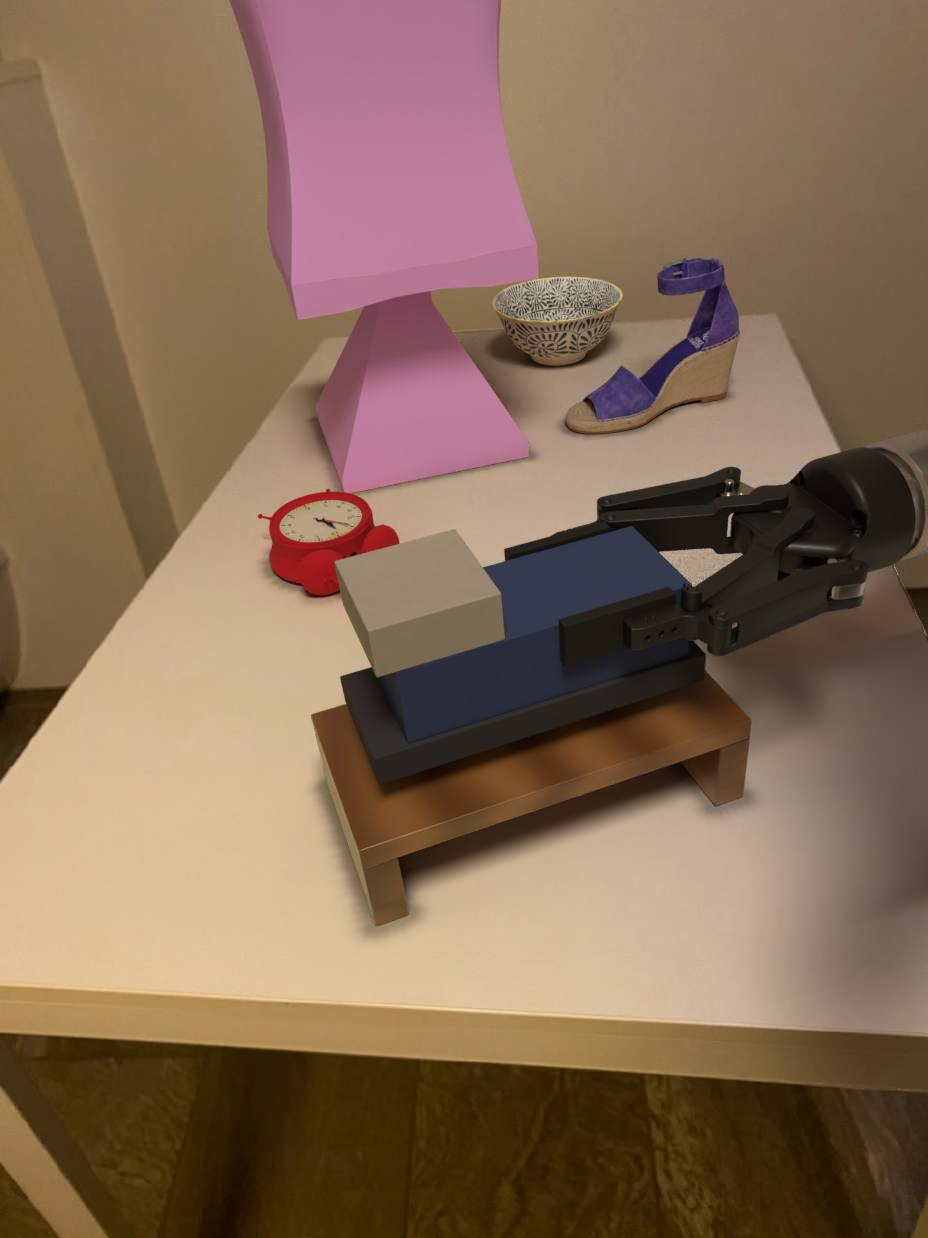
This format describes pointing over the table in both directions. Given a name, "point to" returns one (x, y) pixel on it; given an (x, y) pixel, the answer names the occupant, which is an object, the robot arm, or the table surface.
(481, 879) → the table surface
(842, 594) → the robot arm
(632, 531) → the stacked block toy
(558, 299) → the bowl
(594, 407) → the sandal
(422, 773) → the low wooden table
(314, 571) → the alarm clock
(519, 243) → the pink table lamp
